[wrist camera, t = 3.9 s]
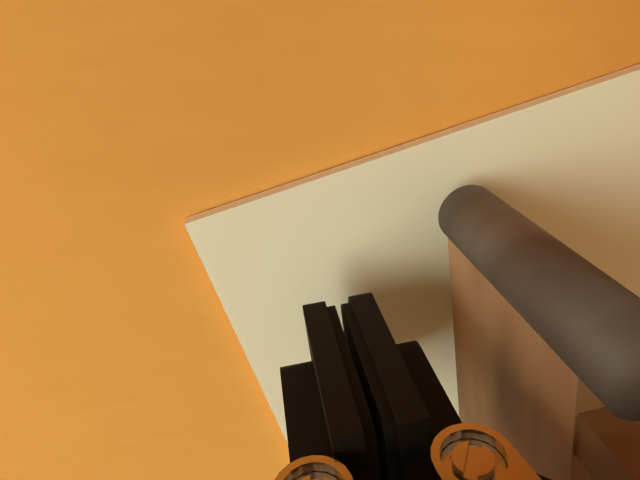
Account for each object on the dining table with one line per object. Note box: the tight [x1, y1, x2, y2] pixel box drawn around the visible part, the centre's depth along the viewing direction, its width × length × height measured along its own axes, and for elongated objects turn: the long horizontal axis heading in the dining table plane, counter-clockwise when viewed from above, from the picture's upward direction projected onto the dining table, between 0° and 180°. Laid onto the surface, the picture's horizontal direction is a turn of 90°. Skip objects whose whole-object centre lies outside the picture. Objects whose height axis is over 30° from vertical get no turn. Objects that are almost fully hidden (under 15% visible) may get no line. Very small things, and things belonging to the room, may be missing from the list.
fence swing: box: [438, 185, 640, 480], centre depth 11 cm, size 10×1×6 cm, turn 10°
